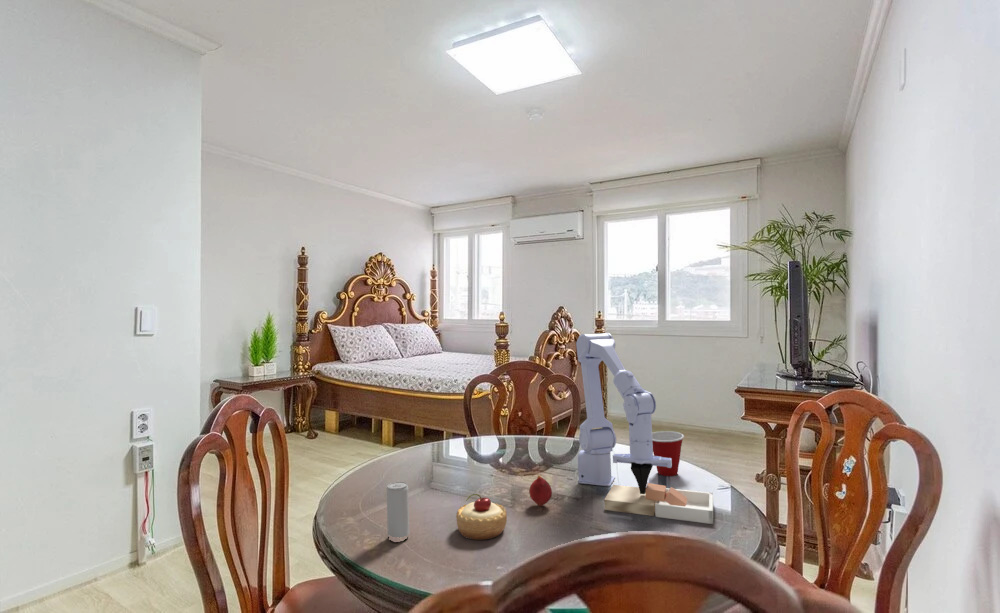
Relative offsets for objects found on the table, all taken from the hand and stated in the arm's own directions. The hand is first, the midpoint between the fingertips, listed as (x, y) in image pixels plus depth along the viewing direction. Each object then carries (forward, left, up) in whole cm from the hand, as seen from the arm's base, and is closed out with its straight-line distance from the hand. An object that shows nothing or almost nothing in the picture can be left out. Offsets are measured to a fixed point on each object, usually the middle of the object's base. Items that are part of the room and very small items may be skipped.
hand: (643, 492), depth 125 cm
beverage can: (-49, -38, -3) cm, 62 cm away
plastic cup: (+3, +29, -3) cm, 29 cm away
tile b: (+7, 0, -2) cm, 7 cm away
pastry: (-33, -28, -4) cm, 43 cm away
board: (-3, 0, -3) cm, 4 cm away
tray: (+10, 0, -3) cm, 10 cm away
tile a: (+3, 0, -1) cm, 3 cm away
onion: (-25, -9, -3) cm, 27 cm away
